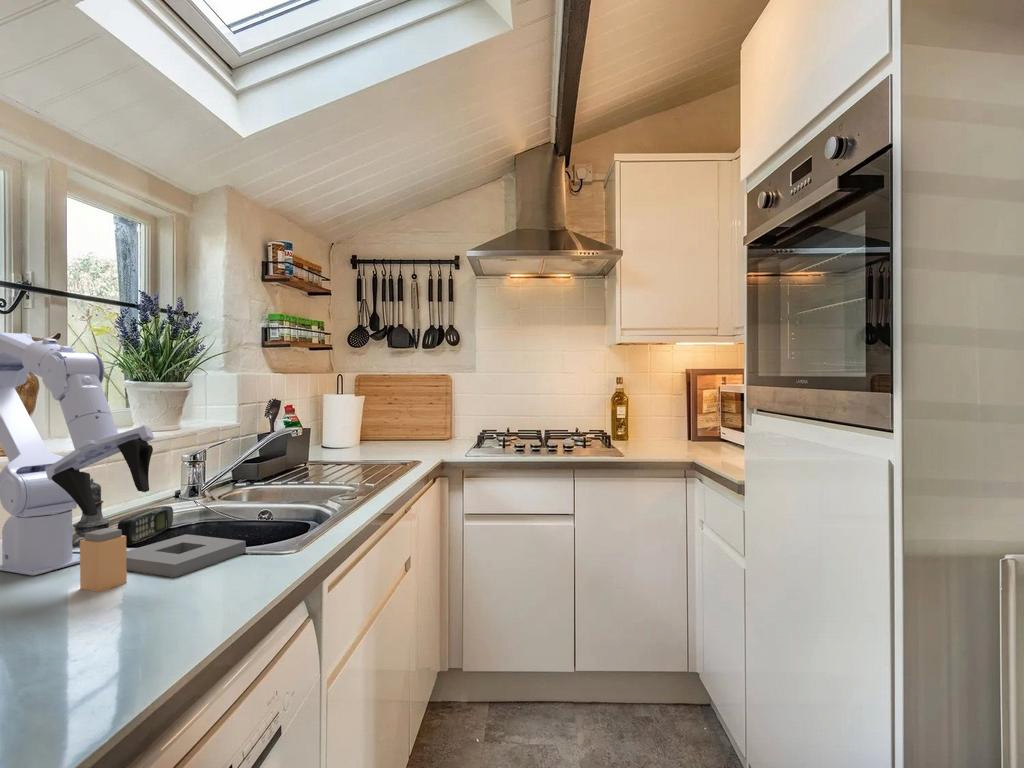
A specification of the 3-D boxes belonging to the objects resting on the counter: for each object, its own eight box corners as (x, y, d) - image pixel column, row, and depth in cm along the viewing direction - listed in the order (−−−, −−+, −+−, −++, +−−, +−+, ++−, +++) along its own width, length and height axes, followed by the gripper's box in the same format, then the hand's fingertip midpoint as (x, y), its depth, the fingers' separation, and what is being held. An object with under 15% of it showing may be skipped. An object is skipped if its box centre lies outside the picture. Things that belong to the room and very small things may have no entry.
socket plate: (110, 568, 93) (110, 555, 93) (186, 545, 107) (185, 534, 107) (175, 577, 89) (175, 564, 89) (245, 552, 102) (245, 540, 102)
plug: (80, 588, 84) (79, 533, 84) (107, 579, 88) (107, 527, 88) (99, 591, 83) (99, 535, 83) (126, 582, 87) (126, 529, 87)
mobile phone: (128, 520, 106) (179, 501, 121) (113, 520, 107) (166, 501, 122) (129, 547, 107) (180, 525, 121) (113, 547, 107) (166, 525, 122)
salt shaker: (90, 546, 106) (90, 481, 106) (64, 545, 107) (63, 480, 107) (118, 538, 112) (118, 476, 112) (93, 536, 113) (92, 475, 113)
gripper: (21, 437, 83) (47, 523, 80) (123, 394, 86) (153, 476, 83) (54, 446, 90) (80, 526, 87) (148, 406, 93) (176, 482, 90)
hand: (117, 502), depth 85 cm, fingers open, 7 cm apart
